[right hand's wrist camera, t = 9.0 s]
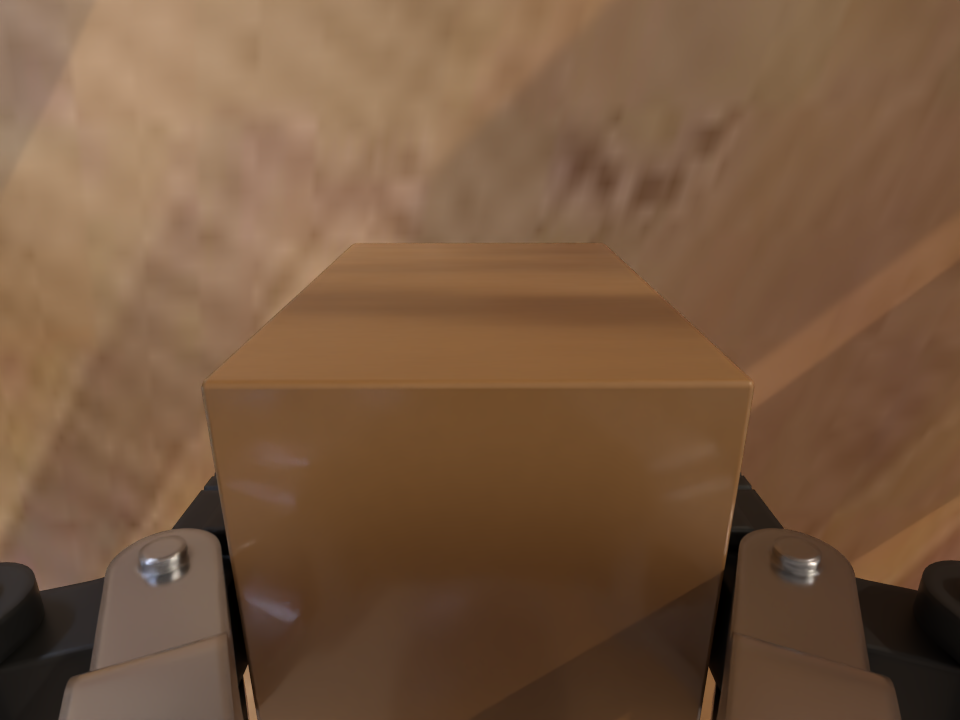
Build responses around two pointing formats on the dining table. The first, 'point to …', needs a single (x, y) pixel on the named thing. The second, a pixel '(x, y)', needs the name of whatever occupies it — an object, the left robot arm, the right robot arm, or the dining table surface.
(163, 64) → the dining table surface
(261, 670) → the bar
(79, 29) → the dining table surface
